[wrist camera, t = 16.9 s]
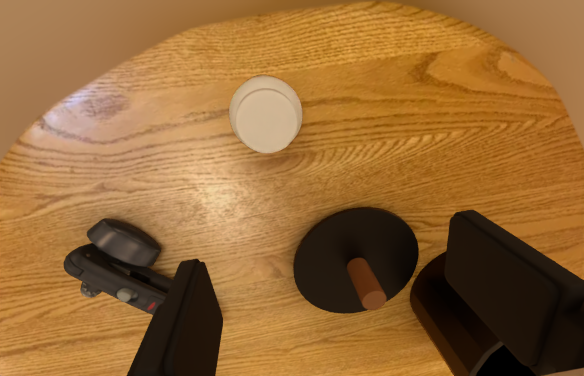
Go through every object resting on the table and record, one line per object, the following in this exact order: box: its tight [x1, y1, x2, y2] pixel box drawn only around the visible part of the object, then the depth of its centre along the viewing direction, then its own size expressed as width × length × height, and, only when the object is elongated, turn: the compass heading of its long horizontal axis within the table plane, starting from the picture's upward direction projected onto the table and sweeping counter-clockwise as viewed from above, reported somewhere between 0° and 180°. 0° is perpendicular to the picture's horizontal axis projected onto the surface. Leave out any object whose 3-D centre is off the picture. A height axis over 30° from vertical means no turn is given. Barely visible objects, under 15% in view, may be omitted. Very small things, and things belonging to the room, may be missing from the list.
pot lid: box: [293, 207, 419, 313], centre depth 31 cm, size 16×16×7 cm
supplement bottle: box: [229, 75, 302, 153], centre depth 21 cm, size 5×5×10 cm
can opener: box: [64, 218, 173, 315], centre depth 29 cm, size 18×7×6 cm, turn 41°
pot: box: [410, 251, 559, 376], centre depth 33 cm, size 15×15×12 cm
